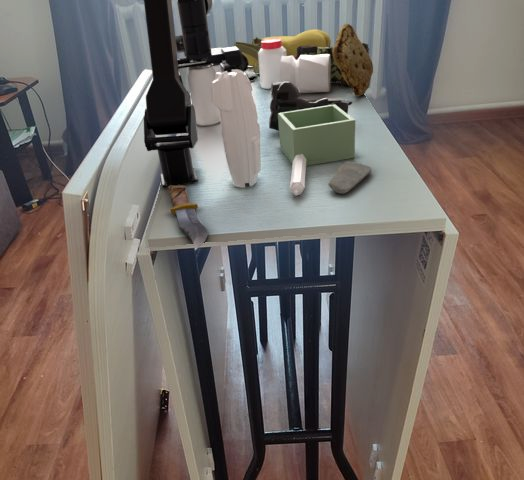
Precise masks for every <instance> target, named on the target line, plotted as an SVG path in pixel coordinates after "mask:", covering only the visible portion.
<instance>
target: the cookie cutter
mask: <svg viewBox="0 0 524 480" xmlns="http://www.w3.org/2000/svg"><path fill="white" fill-rule="evenodd" d="M262 40H263V38H259V37H258V36H255V37H254V38H253V39H252V40H251V43H249V42H245V41H244V42H242V41H235V40H234V41H233V47H234V46H236V47H237V48H238V49H239V50H240V51H241V52H242V53H245V54H248V55H250V56H252V57H254V58H255V59H257V61H258V52H259V50H260V49H261V48H262V47H261V41H262ZM253 68H254V70H252V72H254V74H260V73H259V62H257V63H256V64H254V67H253Z"/></svg>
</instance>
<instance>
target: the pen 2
mask: <svg viewBox="0 0 524 480" xmlns="http://www.w3.org/2000/svg"><path fill="white" fill-rule="evenodd" d="M306 100H307V101H309V102H316V101H318V100H319V99H306ZM348 101H349V100H348V99H347V98H346V99H343V97H342V98H340V97H339V98H328V104H332V103H334V102H348Z"/></svg>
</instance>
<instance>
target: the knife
mask: <svg viewBox="0 0 524 480" xmlns="http://www.w3.org/2000/svg"><path fill="white" fill-rule="evenodd" d="M167 189H168V191H169V195H170V196H169V197H170V200H171V202H172V205H173V207H170V208H169V210H170V213H171V214H173V215H175V216H176V219H177V223H178V227H179V230H180V231H182V232H183V233H185V235H187V236H188V238H189V239H190V241H191V243H192V244H193V248H194V251H195V252H196V251H197V250H198V249H199V248H200V247H202V245H203V244H204V243H205V242H206V240H207V237H208V232H209V231H208V229H207V227H206V226H205V224H203V223H202V221H201V220H200V219H199V217H198V215H197V212H196V211H197V210H198V208H199V205H198V203H190V199H189V196H188V194H187V191H186V190H187V187H186V186H185V185H183V184H182V185H170V186H169V187H167Z"/></svg>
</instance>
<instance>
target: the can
mask: <svg viewBox="0 0 524 480" xmlns="http://www.w3.org/2000/svg"><path fill="white" fill-rule="evenodd" d="M187 69H188V72H187V82H188V83H187V84H188V88H189V94H190V96H191V104H193V106H194V109H195V115H196V126H199V127H209V126H215V125H217V124H220V123H221V118H220V109H219V108H218V107H217V106H216V105H215V104H213V103H212V82H213V81H214V80H215V74H216V72H215V70H214V68H213V64H207V65H200V66H193V67H187Z"/></svg>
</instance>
